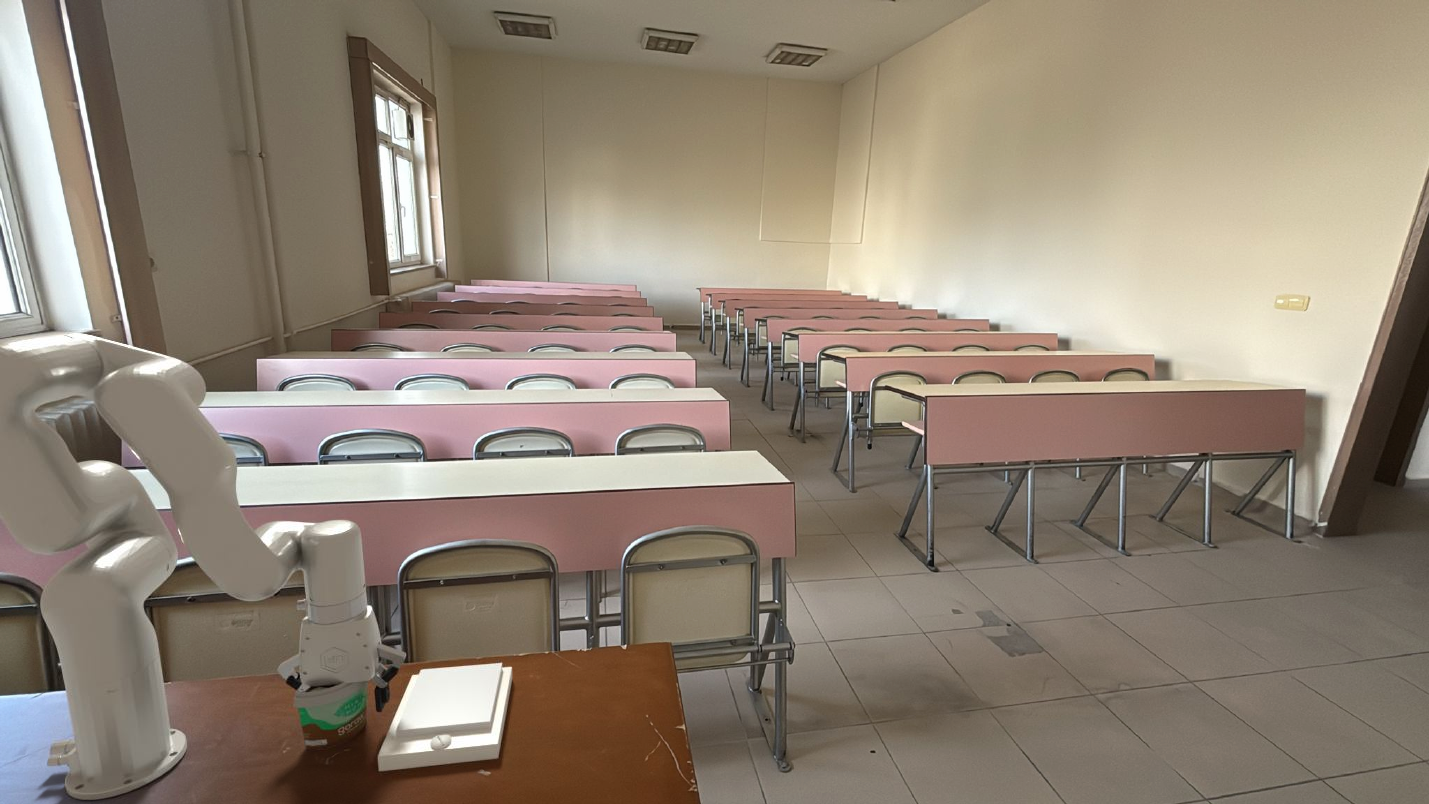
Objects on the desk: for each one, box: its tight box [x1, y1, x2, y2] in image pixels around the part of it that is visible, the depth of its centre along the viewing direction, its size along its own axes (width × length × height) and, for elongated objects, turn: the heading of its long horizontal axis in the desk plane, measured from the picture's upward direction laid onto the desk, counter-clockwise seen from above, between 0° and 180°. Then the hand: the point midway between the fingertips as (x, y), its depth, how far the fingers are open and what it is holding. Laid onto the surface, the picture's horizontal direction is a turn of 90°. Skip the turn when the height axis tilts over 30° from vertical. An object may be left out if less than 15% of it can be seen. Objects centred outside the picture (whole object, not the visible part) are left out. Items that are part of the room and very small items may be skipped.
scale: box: [377, 662, 513, 772], centre depth 101 cm, size 16×19×4 cm
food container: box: [293, 681, 368, 751], centre depth 98 cm, size 12×6×10 cm, turn 170°
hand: (347, 709), depth 98 cm, fingers open, 9 cm apart
